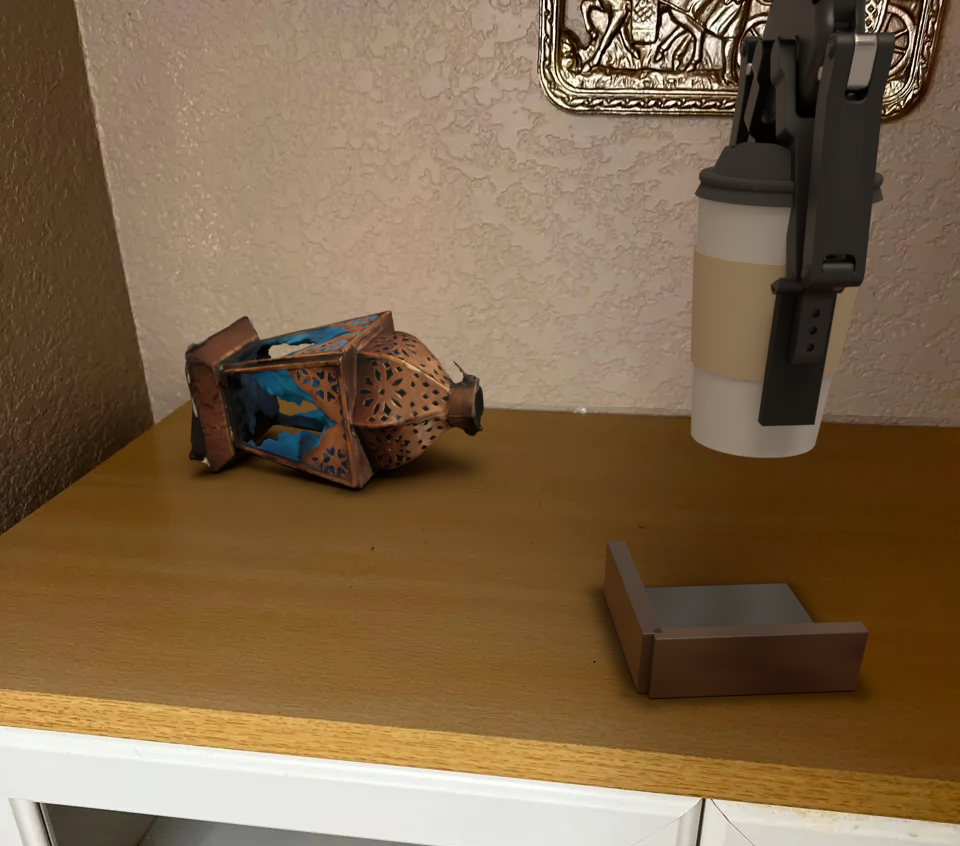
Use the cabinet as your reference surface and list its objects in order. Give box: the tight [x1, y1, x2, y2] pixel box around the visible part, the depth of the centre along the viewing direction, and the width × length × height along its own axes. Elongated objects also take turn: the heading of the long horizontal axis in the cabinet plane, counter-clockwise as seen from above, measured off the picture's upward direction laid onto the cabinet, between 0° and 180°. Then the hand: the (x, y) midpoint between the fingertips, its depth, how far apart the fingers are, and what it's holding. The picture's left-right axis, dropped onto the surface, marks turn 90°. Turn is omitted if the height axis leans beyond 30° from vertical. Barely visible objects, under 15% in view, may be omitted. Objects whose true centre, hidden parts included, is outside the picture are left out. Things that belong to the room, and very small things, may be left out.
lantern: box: [184, 310, 485, 490], centre depth 85 cm, size 16×16×25 cm
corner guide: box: [603, 540, 870, 699], centre depth 60 cm, size 13×13×4 cm
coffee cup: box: [690, 142, 885, 459], centre depth 51 cm, size 9×9×15 cm
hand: (759, 395), depth 54 cm, fingers closed on coffee cup, 9 cm apart
